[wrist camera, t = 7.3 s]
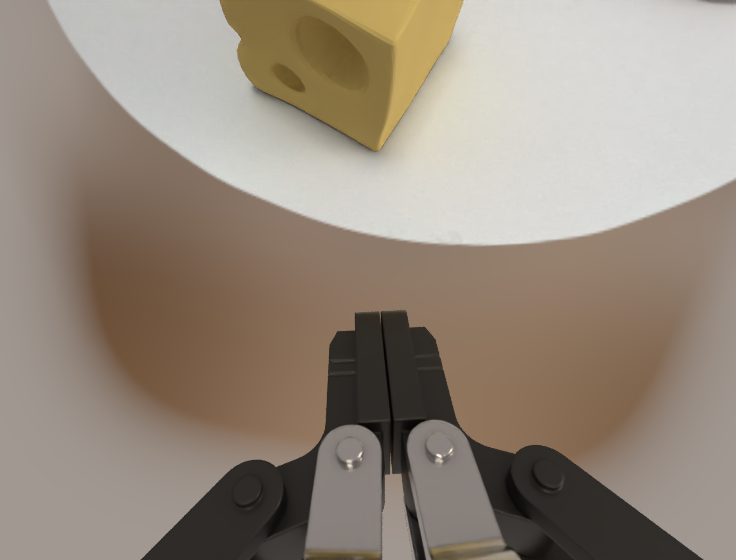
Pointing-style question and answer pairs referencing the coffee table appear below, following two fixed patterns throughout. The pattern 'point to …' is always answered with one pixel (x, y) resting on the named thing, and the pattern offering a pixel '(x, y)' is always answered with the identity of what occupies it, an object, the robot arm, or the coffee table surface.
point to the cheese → (343, 56)
